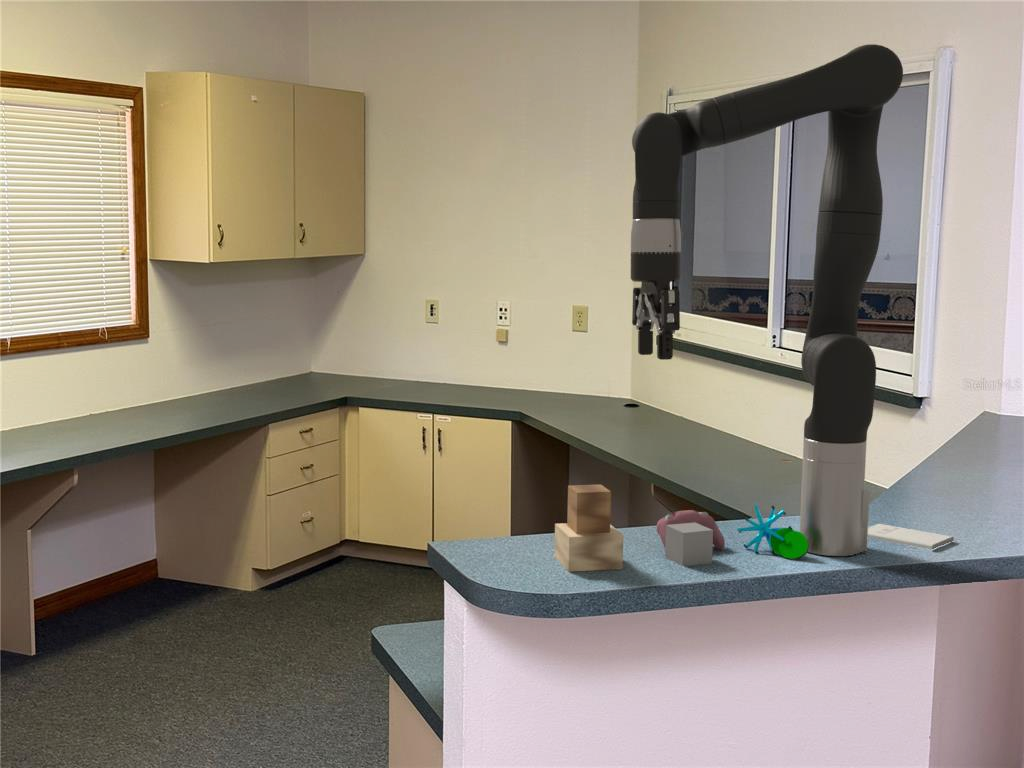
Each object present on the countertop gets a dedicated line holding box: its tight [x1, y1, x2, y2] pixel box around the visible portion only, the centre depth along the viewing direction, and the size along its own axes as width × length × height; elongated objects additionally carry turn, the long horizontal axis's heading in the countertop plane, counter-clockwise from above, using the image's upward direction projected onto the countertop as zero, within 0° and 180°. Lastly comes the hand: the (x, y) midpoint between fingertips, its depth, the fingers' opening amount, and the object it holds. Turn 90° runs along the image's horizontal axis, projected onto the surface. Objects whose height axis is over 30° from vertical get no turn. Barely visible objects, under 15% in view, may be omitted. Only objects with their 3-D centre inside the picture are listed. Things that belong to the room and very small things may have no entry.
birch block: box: [554, 522, 624, 573], centre depth 161 cm, size 8×8×5 cm
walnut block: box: [566, 484, 612, 534], centre depth 161 cm, size 5×5×6 cm
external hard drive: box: [868, 523, 955, 549], centre depth 178 cm, size 2×8×12 cm
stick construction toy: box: [737, 504, 809, 560], centre depth 170 cm, size 12×7×8 cm
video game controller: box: [656, 509, 726, 551], centre depth 170 cm, size 10×5×7 cm, turn 111°
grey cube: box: [664, 522, 714, 567], centre depth 164 cm, size 5×5×5 cm
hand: (654, 356), depth 169 cm, fingers open, 8 cm apart
